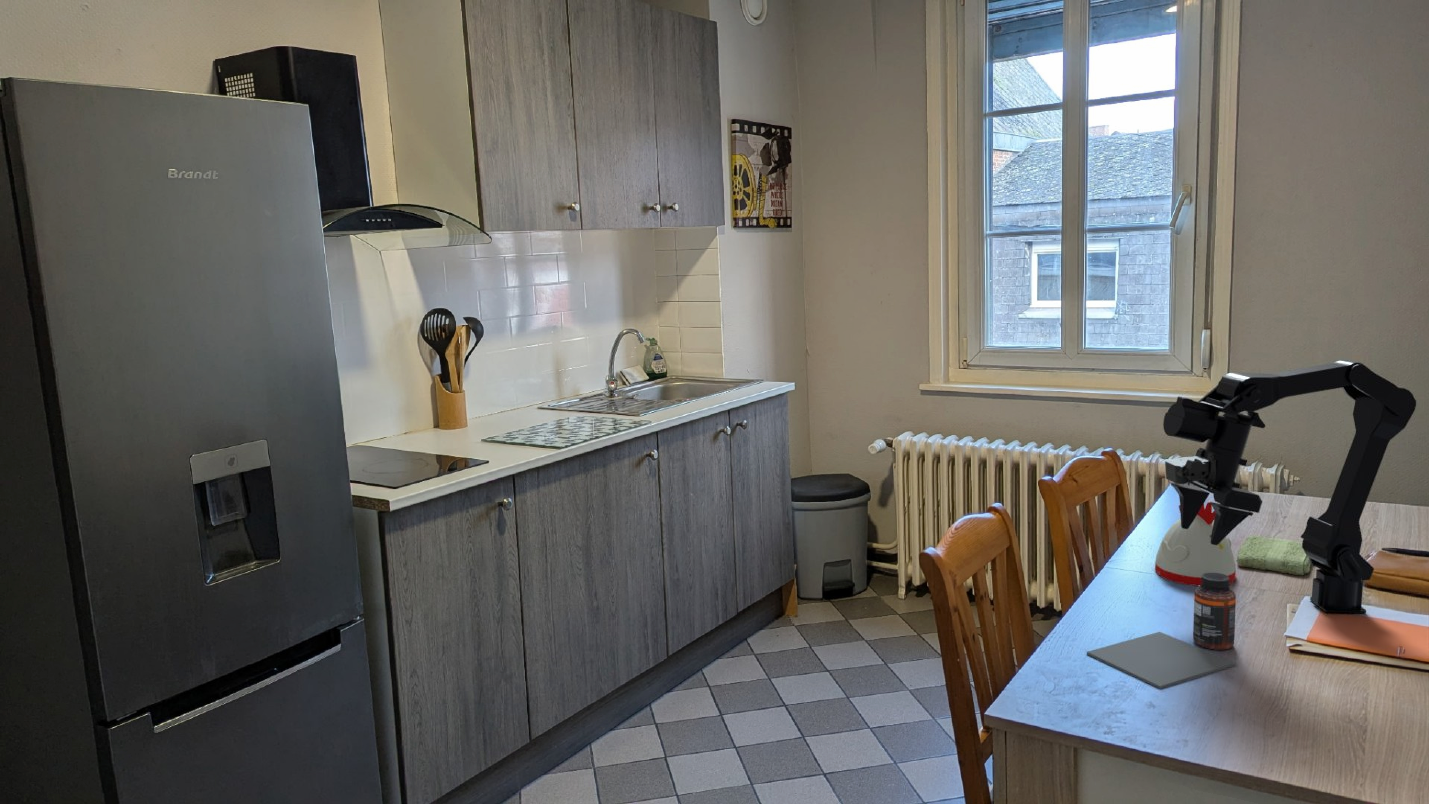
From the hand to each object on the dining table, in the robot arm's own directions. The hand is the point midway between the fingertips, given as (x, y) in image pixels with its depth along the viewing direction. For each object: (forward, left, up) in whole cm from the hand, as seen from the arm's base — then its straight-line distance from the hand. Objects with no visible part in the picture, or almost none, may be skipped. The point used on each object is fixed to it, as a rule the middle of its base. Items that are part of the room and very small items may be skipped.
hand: (1198, 536), depth 169 cm
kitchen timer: (-7, -22, -14) cm, 27 cm away
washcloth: (-25, -31, -15) cm, 42 cm away
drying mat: (+11, +19, -14) cm, 26 cm away
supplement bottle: (+1, +12, -14) cm, 19 cm away
